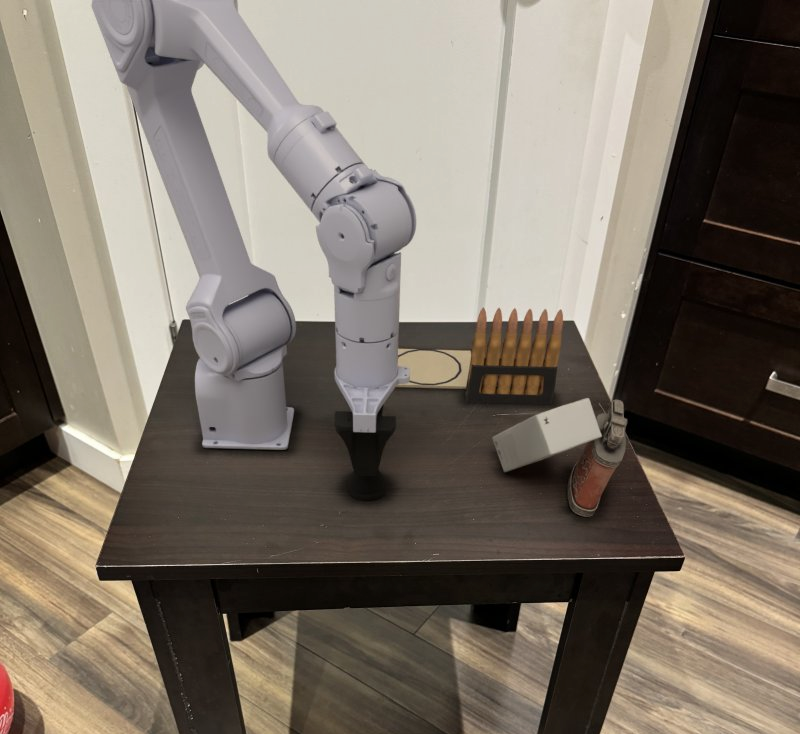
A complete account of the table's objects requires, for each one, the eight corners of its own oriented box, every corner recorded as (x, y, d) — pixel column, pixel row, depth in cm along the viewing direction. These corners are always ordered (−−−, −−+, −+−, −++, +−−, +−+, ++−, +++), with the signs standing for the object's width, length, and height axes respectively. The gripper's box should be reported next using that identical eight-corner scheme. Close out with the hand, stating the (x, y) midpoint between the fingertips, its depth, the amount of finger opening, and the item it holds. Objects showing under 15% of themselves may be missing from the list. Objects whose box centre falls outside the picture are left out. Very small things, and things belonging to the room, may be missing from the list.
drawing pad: (379, 386, 96) (379, 383, 96) (380, 350, 103) (381, 347, 102) (475, 389, 96) (475, 386, 96) (470, 353, 103) (470, 350, 103)
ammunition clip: (550, 395, 96) (567, 306, 88) (552, 404, 94) (570, 313, 86) (464, 394, 95) (474, 303, 87) (466, 402, 94) (475, 311, 86)
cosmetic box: (503, 474, 84) (549, 456, 72) (490, 437, 84) (534, 413, 72) (551, 457, 85) (604, 436, 74) (538, 420, 85) (589, 395, 74)
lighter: (597, 520, 79) (637, 445, 72) (565, 511, 79) (602, 435, 72) (598, 472, 84) (635, 398, 77) (569, 463, 84) (603, 389, 77)
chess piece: (338, 483, 82) (335, 403, 75) (373, 470, 84) (373, 391, 77) (359, 506, 79) (359, 425, 72) (395, 492, 81) (398, 412, 74)
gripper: (412, 370, 63) (406, 497, 73) (410, 293, 74) (406, 411, 83) (327, 368, 63) (332, 495, 72) (337, 291, 74) (341, 409, 83)
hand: (367, 450), depth 78 cm, fingers open, 7 cm apart
